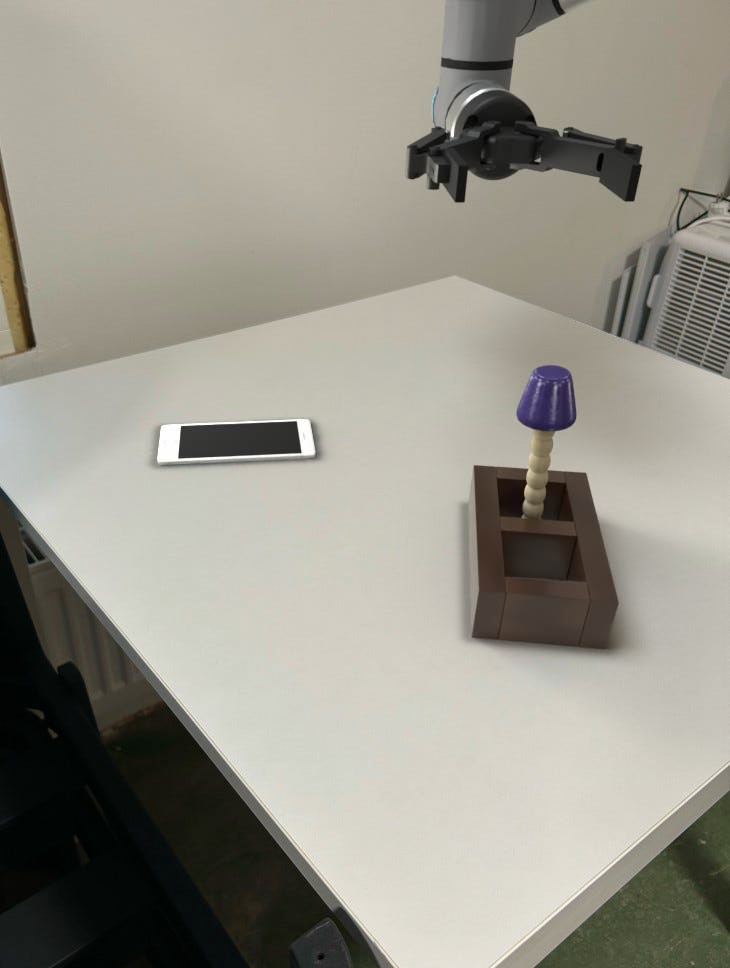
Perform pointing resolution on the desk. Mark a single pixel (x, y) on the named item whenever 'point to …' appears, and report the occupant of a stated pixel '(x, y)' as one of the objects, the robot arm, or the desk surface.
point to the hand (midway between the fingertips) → (548, 184)
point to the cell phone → (235, 442)
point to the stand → (538, 562)
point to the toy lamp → (544, 427)
